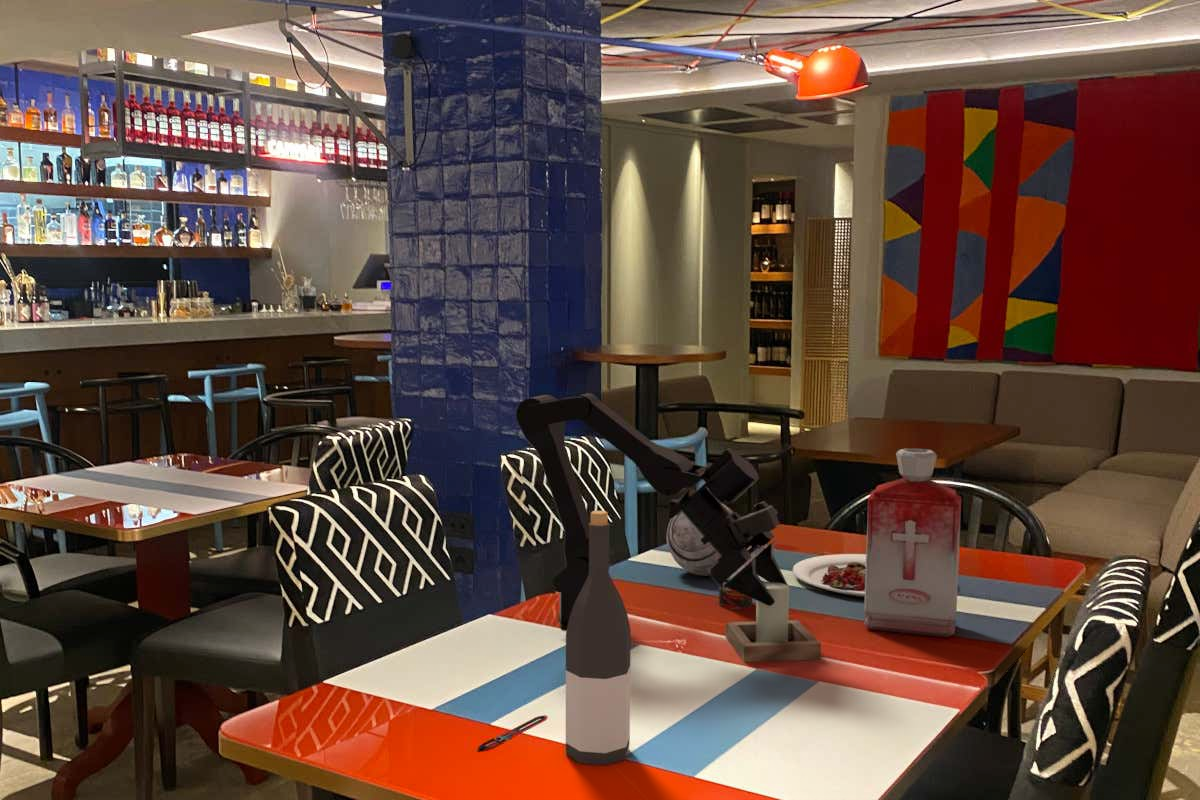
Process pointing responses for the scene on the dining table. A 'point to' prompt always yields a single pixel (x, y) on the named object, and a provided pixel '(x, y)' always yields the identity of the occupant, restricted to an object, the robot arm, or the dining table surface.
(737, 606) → the deodorant
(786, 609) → the pale green cylinder
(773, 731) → the dining table surface
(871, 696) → the dining table surface
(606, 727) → the wine bottle
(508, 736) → the pen
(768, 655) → the collar
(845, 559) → the plated food
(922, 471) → the bottle
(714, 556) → the decorative orb
